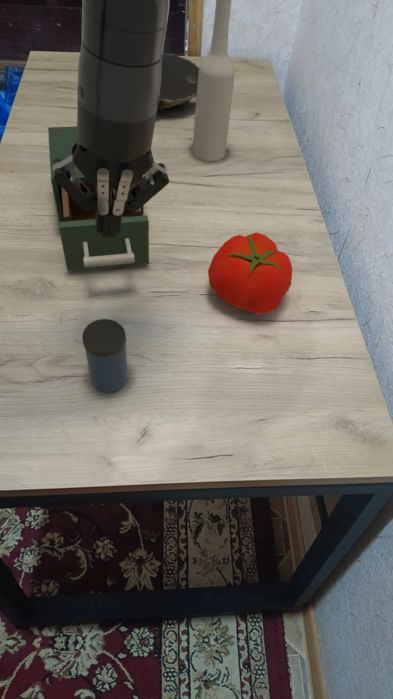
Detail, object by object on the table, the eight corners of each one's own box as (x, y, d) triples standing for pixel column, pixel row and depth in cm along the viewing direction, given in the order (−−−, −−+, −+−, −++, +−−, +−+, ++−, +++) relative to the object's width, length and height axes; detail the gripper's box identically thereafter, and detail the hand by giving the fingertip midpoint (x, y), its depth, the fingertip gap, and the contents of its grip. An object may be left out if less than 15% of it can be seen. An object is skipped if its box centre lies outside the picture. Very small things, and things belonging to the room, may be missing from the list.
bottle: (192, 160, 96) (204, -9, 74) (192, 142, 100) (203, -24, 78) (226, 162, 96) (248, -6, 74) (224, 143, 100) (244, -21, 78)
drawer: (153, 285, 74) (153, 242, 67) (69, 293, 71) (60, 250, 65) (137, 209, 84) (135, 166, 78) (63, 215, 82) (55, 170, 75)
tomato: (195, 271, 77) (199, 228, 71) (269, 260, 80) (279, 218, 73) (219, 332, 70) (227, 291, 63) (299, 318, 73) (314, 277, 66)
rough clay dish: (222, 94, 113) (225, 71, 109) (169, 133, 101) (169, 108, 97) (144, 65, 119) (144, 42, 115) (85, 99, 107) (83, 74, 103)
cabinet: (143, 226, 83) (142, 173, 75) (61, 233, 81) (51, 179, 72) (132, 176, 91) (130, 123, 83) (57, 180, 89) (48, 127, 81)
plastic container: (91, 396, 62) (83, 354, 55) (88, 365, 65) (80, 321, 58) (131, 391, 63) (128, 349, 56) (126, 360, 66) (122, 316, 59)
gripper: (178, 81, 50) (154, 212, 64) (43, 67, 46) (49, 210, 60) (193, 124, 46) (164, 254, 60) (47, 113, 43) (52, 255, 56)
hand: (106, 232), depth 60 cm, fingers closed
